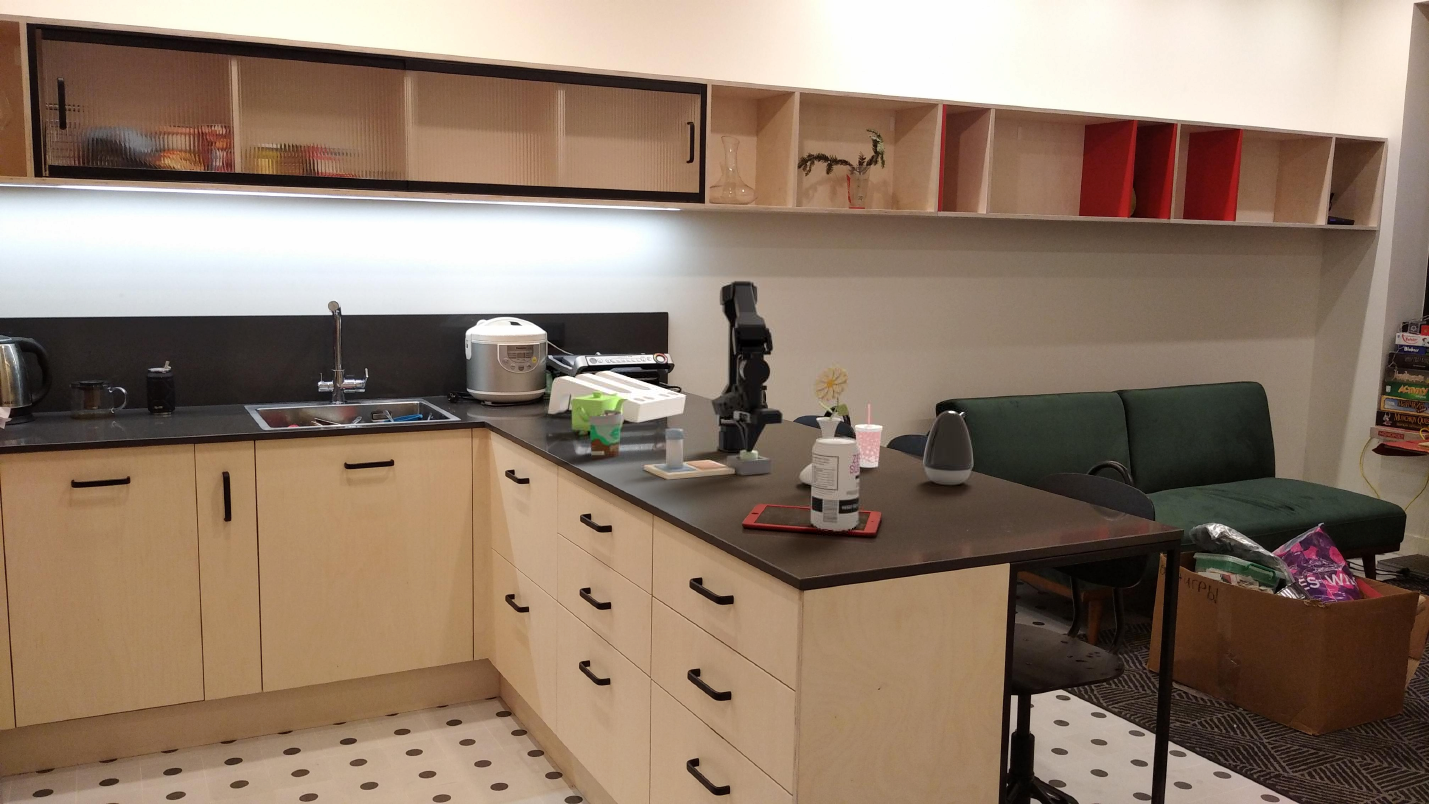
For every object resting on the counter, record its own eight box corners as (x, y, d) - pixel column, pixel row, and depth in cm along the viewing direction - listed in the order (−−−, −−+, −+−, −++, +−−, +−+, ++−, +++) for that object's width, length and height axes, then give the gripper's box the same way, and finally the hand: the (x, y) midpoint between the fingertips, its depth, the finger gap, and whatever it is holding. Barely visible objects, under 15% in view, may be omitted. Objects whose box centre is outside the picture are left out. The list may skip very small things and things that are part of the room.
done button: (752, 465, 239) (752, 449, 238) (760, 468, 236) (760, 452, 235) (736, 466, 237) (737, 450, 237) (745, 469, 234) (745, 453, 233)
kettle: (617, 428, 297) (617, 387, 295) (632, 436, 284) (632, 393, 282) (563, 430, 291) (563, 389, 290) (576, 438, 278) (576, 395, 277)
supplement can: (806, 520, 191) (808, 436, 189) (852, 520, 192) (855, 436, 190) (814, 532, 183) (816, 444, 181) (862, 531, 184) (865, 444, 182)
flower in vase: (789, 482, 225) (792, 362, 222) (838, 478, 229) (841, 361, 226) (818, 494, 213) (821, 368, 210) (869, 490, 217) (872, 366, 214)
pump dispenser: (982, 482, 227) (985, 410, 225) (955, 489, 219) (958, 415, 217) (940, 475, 234) (943, 406, 232) (912, 482, 226) (915, 410, 224)
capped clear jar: (678, 465, 236) (678, 427, 235) (686, 468, 233) (686, 430, 232) (662, 466, 234) (662, 429, 233) (670, 469, 231) (670, 431, 230)
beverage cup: (880, 468, 241) (882, 406, 240) (853, 467, 243) (854, 405, 241) (882, 463, 247) (883, 403, 246) (855, 462, 248) (856, 402, 247)
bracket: (640, 403, 307) (553, 375, 322) (633, 444, 310) (547, 413, 325) (685, 395, 327) (602, 368, 342) (679, 433, 330) (596, 405, 345)
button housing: (754, 467, 241) (754, 454, 241) (770, 472, 235) (770, 459, 235) (727, 469, 238) (727, 456, 238) (742, 475, 232) (742, 461, 231)
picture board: (709, 464, 244) (709, 459, 244) (734, 473, 234) (734, 468, 234) (644, 469, 237) (644, 464, 237) (667, 479, 226) (667, 473, 226)
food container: (615, 460, 248) (614, 417, 247) (589, 459, 249) (589, 416, 248) (629, 451, 260) (629, 410, 259) (605, 450, 261) (605, 409, 260)
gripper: (697, 377, 239) (696, 447, 241) (737, 386, 222) (736, 461, 224) (741, 375, 244) (740, 444, 246) (784, 384, 227) (783, 457, 229)
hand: (748, 451), depth 236 cm, fingers closed, pressing on done button
